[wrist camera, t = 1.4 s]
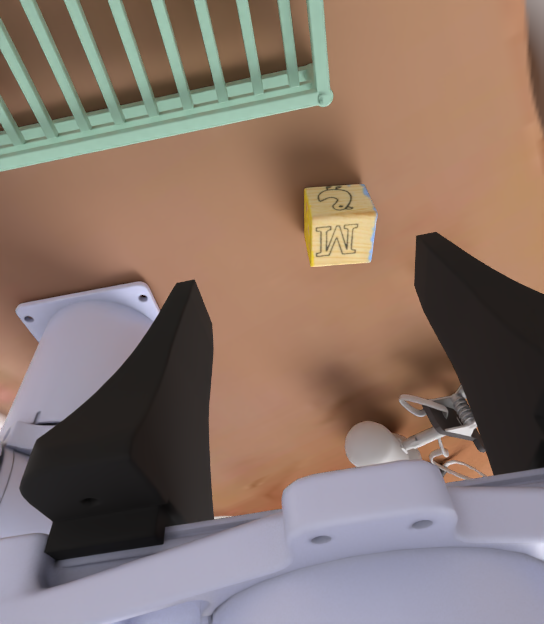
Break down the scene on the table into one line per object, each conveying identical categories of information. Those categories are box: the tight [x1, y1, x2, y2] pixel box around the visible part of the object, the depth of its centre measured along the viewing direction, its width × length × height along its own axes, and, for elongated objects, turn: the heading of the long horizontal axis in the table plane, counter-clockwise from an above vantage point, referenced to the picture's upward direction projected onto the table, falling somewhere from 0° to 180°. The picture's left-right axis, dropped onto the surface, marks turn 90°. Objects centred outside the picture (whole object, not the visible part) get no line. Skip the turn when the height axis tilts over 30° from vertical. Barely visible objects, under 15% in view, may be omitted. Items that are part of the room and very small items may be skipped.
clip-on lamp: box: [345, 385, 487, 480], centre depth 37 cm, size 12×6×18 cm
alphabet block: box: [304, 184, 378, 267], centre depth 22 cm, size 3×3×3 cm
